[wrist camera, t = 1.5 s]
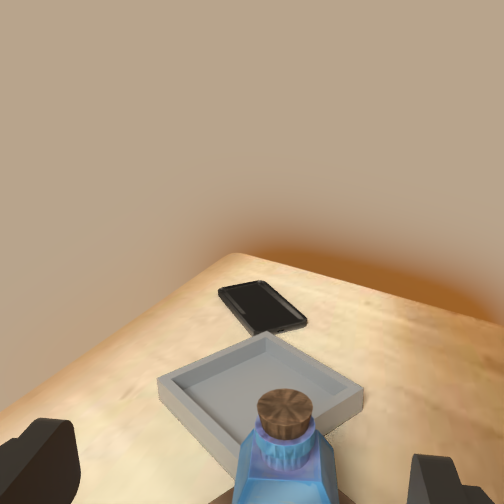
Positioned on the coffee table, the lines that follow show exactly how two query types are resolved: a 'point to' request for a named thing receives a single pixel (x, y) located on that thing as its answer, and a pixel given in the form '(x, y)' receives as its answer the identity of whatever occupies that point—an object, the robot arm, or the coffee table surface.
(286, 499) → the perfume bottle
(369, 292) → the coffee table surface
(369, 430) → the coffee table surface
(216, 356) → the grey tray
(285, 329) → the phone
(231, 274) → the coffee table surface
